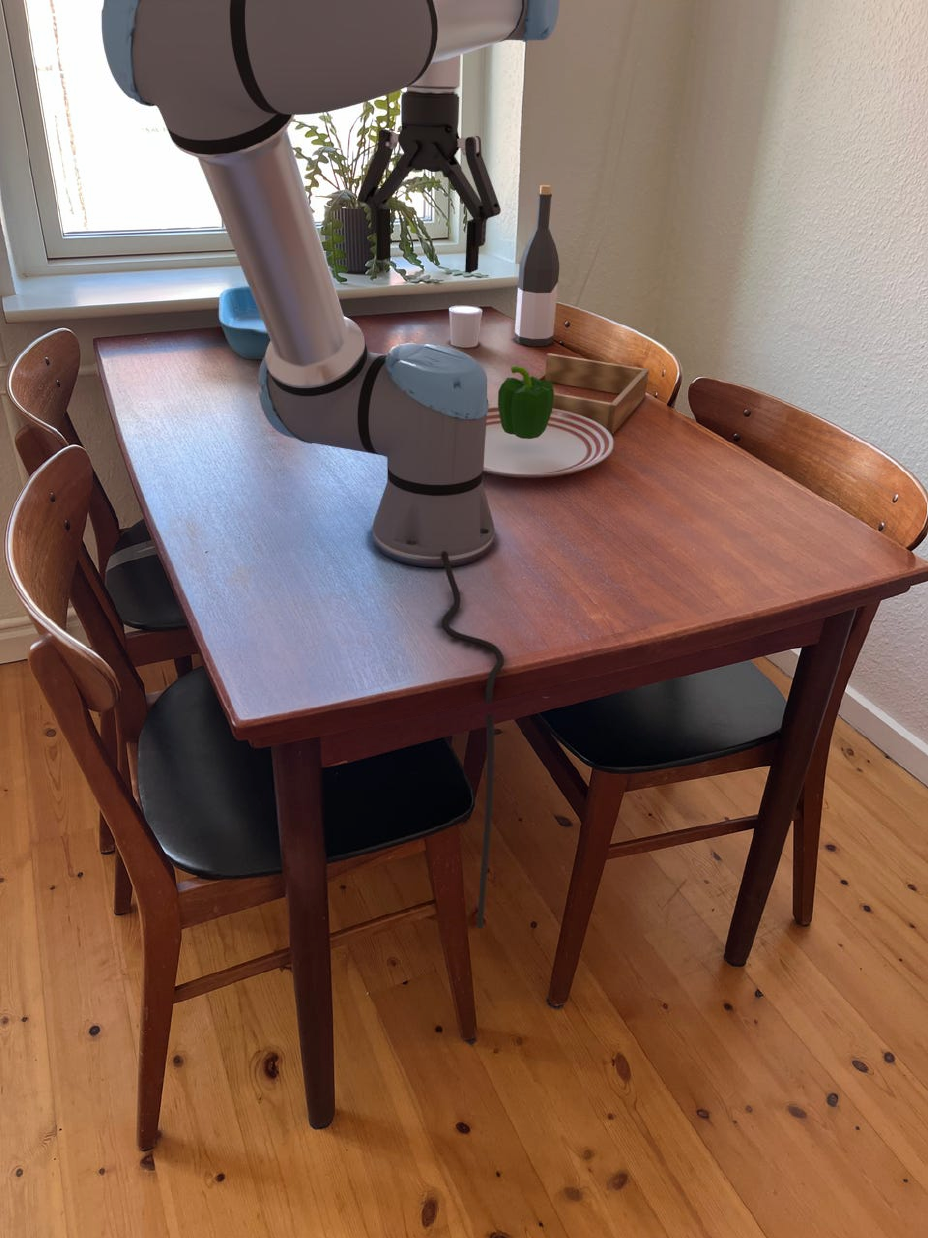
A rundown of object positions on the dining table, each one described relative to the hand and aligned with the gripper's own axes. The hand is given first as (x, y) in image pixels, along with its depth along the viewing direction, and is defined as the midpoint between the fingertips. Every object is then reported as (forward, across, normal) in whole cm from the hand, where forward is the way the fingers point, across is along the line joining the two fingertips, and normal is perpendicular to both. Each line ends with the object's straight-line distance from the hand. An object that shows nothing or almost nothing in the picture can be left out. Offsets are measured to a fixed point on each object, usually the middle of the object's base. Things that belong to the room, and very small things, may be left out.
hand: (426, 264), depth 130 cm
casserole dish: (+27, +50, -37) cm, 68 cm away
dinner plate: (+27, -15, -4) cm, 31 cm away
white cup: (+27, +17, -55) cm, 63 cm away
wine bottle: (+27, +5, -64) cm, 70 cm away
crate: (+27, -15, -30) cm, 43 cm away
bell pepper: (+24, -15, -4) cm, 28 cm away
